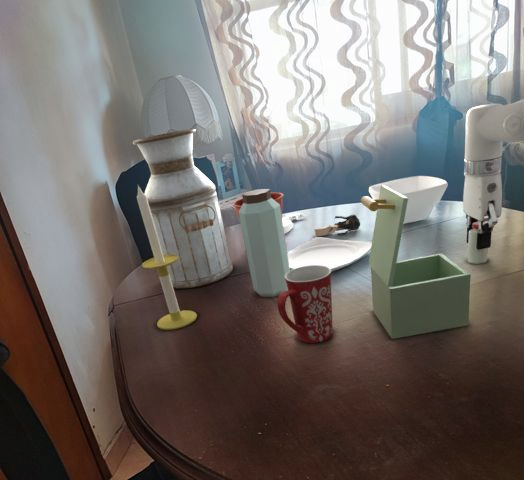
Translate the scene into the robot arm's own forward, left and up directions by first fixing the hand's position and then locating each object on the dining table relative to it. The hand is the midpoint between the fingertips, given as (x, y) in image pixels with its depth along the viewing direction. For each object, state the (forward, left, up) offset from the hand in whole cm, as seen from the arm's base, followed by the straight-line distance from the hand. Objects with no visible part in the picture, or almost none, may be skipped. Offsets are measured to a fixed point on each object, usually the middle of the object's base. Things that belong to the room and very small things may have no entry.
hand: (478, 244), depth 112 cm
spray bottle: (+53, -58, -4) cm, 79 cm away
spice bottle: (0, 0, -4) cm, 4 cm away
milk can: (+76, -16, -4) cm, 78 cm away
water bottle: (+51, +4, -4) cm, 51 cm away
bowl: (+10, -44, -4) cm, 45 cm away
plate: (+38, -15, -4) cm, 41 cm away
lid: (+24, +29, +14) cm, 40 cm away
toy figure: (+33, -40, -4) cm, 52 cm away
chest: (+19, +28, -4) cm, 34 cm away
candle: (+74, +16, -4) cm, 76 cm away
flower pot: (+57, -35, -4) cm, 67 cm away
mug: (+41, +32, -4) cm, 52 cm away
